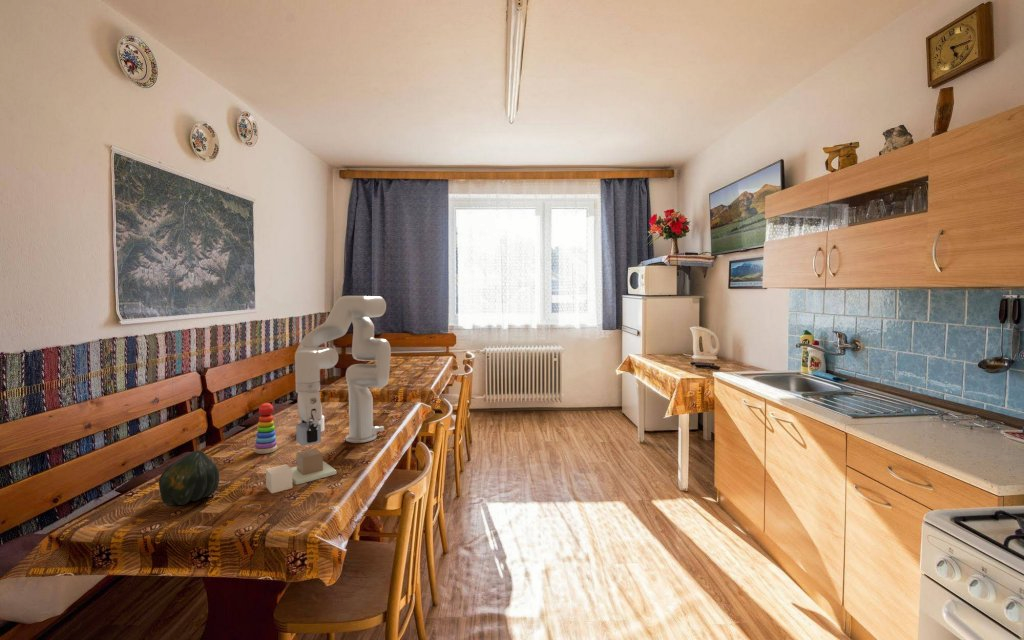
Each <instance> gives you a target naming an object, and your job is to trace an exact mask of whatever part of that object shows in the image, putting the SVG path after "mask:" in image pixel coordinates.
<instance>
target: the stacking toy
mask: <svg viewBox="0 0 1024 640" xmlns="http://www.w3.org/2000/svg"><path fill="white" fill-rule="evenodd" d="M274 411H275V410H274V405H272V403H269V402H265V403H262V404H261V405H260V406H259V407H258V413H259V414H260V416H259V417H258V422H257V432H256V436H257V437H256V438H255V443H254V449H253V451H254V453H256V454H258V455H261V454H262V455H265V454H272V453H274V452H275V451H277V450H278V445H277V436H276V431H275V429H276V427H275V425H274V424H275V422H274V415H273V413H274Z"/></svg>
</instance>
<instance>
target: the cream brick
mask: <svg viewBox="0 0 1024 640" xmlns="http://www.w3.org/2000/svg"><path fill="white" fill-rule="evenodd" d="M291 468H292V467H290V466H289V465H288V464H287V463H285V464H282V465H278V466H277V465H276V466H273V467H272V466H271V467H269V468H267V467H266V468H265V485H266V488H267V490H268V491H269V492H270V493H271V494H275V493H279V492H282V491H287V490H290V489H293V487H294V486H293V481H292V469H291Z"/></svg>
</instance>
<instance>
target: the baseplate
mask: <svg viewBox="0 0 1024 640" xmlns="http://www.w3.org/2000/svg"><path fill="white" fill-rule="evenodd" d="M323 455H324V453H323V452H322V451H320V450H319V449H318V448H316V447H315V448H311V449H306V450H301V451H298V452H296V466H292V467H290V468H291V469H292V483H293V484H294V485H295V486H296V485H297V486H298V485H301V484H304V483H307V482H312V481H316V480H318V479H319V480H320V479H322V478H323V479H324V478H326V477H330V476H333V475H337V470H336V469H335V468H333V467H332V466H331V465H330V464H328V463H327V462H325V461H324V456H323Z"/></svg>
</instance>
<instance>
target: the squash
mask: <svg viewBox="0 0 1024 640" xmlns="http://www.w3.org/2000/svg"><path fill="white" fill-rule="evenodd" d="M219 483H220V472H219V469H218V466H217V465H216V464H215V462H213V460H211V459H210V457H209V456H207V455H206V453H205V452H204V451H203V450H201V449H199V450H195V451H194V450H193V451H191V452H189V453H187V454H185V455H184V456H182V457H181V458H179V459H177V460H176V461H174V462H173V463H171V464H170V465H168V466H167V467H165V469H164V470H163V471H162V472H161V475H160V477H159V479H158V490H159V493H160V498H161V501H162V503H164V504H165V505H167V506H170V507H171V506H177V505H180V506H184V505H187V504H188V503H189V502H190V501H192V502H195V501H199V500H200V499H203V498H206V497H208V496H211V495H213V494H214V493H215V492H216V490H218V487H219Z"/></svg>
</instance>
